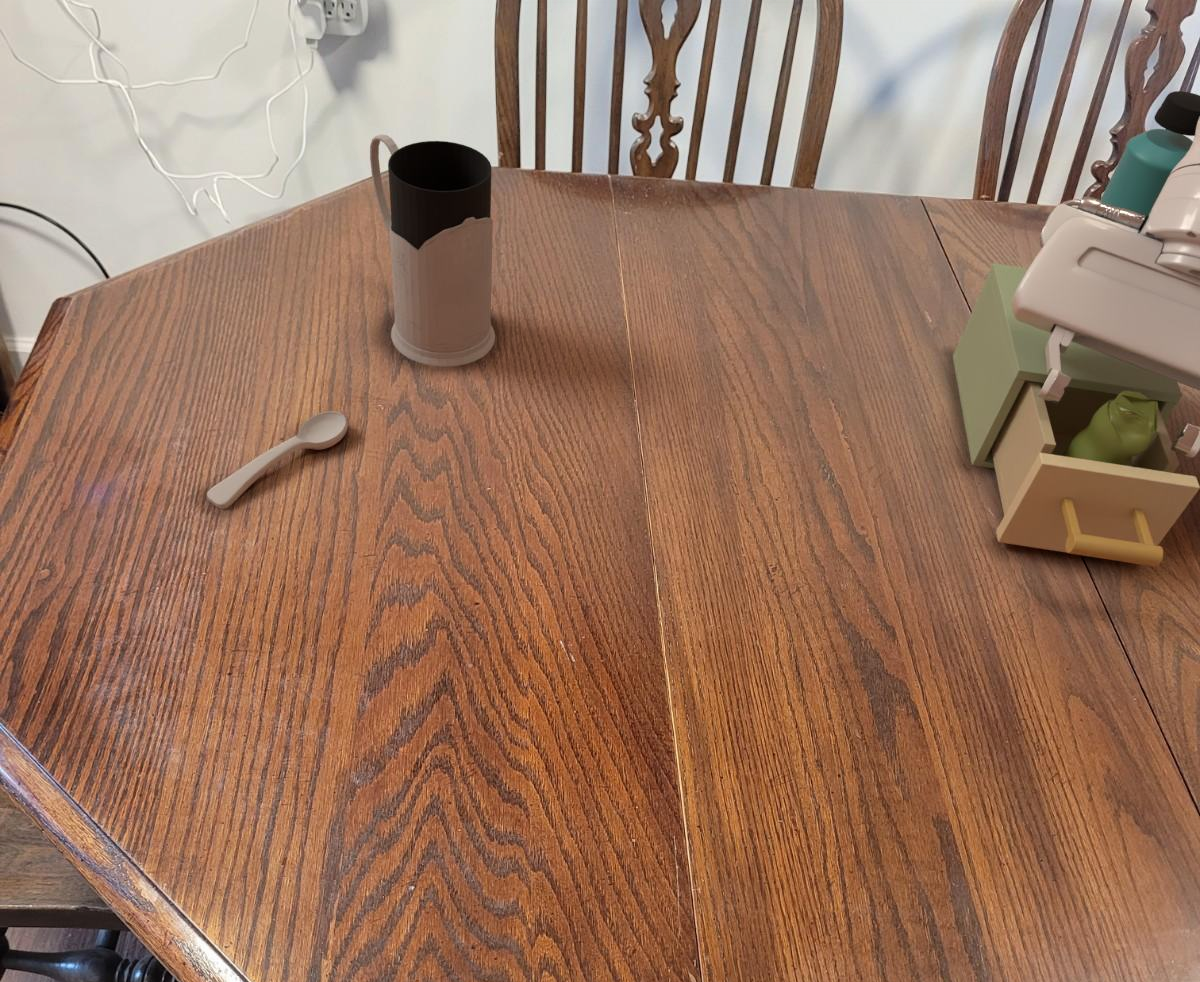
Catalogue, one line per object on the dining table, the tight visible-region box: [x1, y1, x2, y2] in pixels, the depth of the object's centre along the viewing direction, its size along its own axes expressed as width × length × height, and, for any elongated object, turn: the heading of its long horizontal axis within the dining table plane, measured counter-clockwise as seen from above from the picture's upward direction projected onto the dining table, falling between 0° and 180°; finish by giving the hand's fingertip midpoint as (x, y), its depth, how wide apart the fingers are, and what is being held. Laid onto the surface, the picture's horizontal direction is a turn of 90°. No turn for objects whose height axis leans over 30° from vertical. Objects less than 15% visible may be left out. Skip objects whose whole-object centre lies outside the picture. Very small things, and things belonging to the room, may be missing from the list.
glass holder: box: [369, 134, 496, 368], centre depth 83 cm, size 9×14×15 cm, turn 39°
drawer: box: [991, 380, 1200, 567], centre depth 77 cm, size 18×11×8 cm, turn 173°
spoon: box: [206, 410, 349, 510], centre depth 75 cm, size 3×12×2 cm, turn 141°
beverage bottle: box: [1100, 90, 1200, 233], centre depth 93 cm, size 6×7×20 cm
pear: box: [1062, 391, 1158, 467], centre depth 75 cm, size 6×5×10 cm
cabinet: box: [952, 262, 1183, 470], centre depth 85 cm, size 15×12×10 cm
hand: (1114, 425), depth 73 cm, fingers open, 8 cm apart
